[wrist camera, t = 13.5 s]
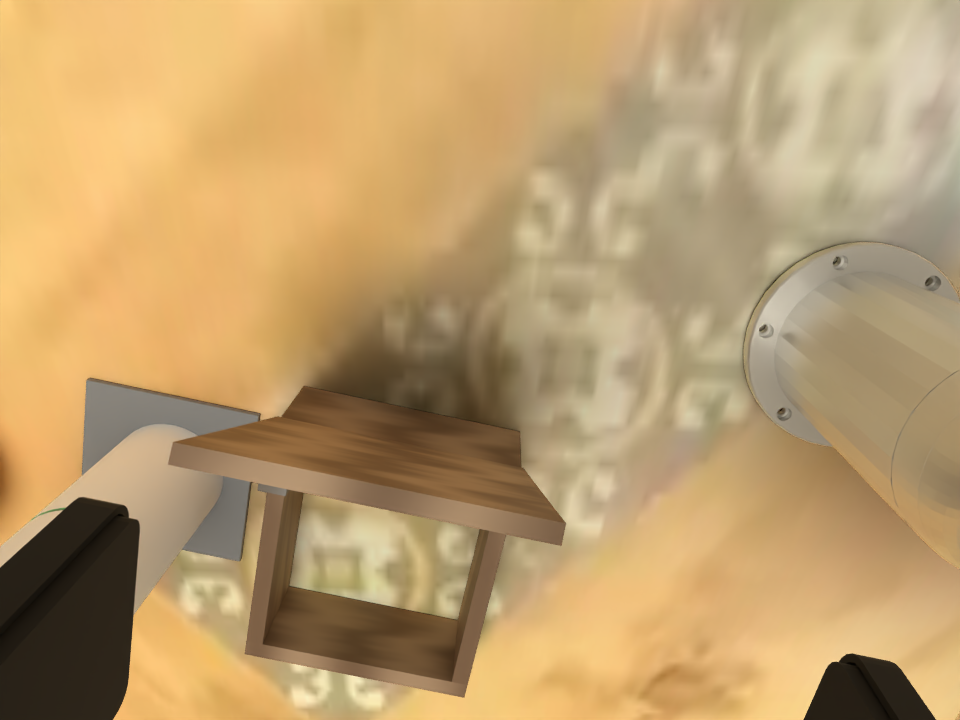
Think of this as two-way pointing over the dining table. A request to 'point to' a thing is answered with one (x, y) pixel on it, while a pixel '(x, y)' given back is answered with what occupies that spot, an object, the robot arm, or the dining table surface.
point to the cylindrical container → (140, 500)
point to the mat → (132, 408)
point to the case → (386, 485)
